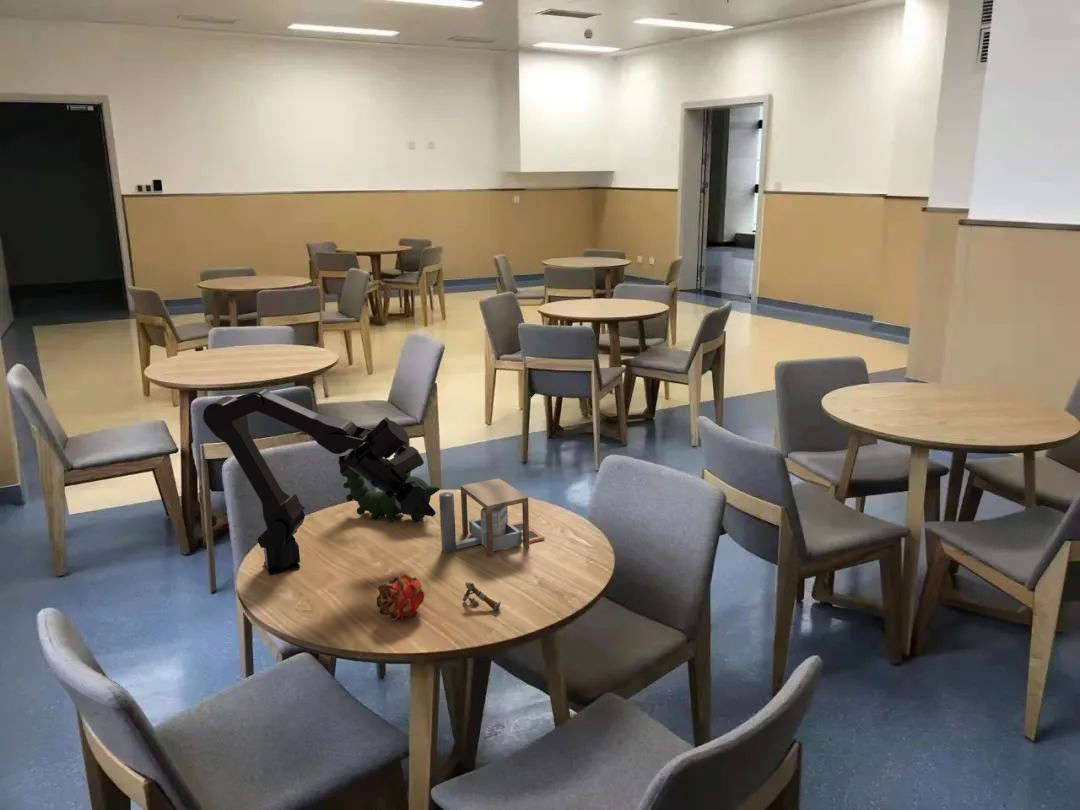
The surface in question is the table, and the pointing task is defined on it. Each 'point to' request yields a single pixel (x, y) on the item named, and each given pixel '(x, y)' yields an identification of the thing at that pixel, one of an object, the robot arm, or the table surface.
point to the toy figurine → (380, 497)
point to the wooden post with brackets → (480, 595)
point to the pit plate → (532, 533)
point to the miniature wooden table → (494, 505)
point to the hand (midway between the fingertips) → (426, 507)
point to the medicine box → (495, 521)
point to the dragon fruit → (400, 597)
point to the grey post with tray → (449, 534)
